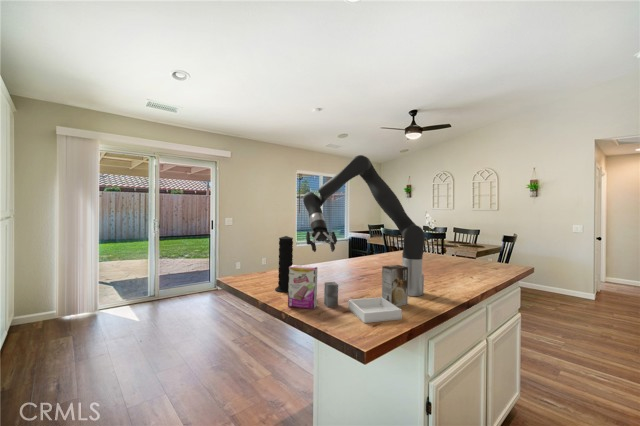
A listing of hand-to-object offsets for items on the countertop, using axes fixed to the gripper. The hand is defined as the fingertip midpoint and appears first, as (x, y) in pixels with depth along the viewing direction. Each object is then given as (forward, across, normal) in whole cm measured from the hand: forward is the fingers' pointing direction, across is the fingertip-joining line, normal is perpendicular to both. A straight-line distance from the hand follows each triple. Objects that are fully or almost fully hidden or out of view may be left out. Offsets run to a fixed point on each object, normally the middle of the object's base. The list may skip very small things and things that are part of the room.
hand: (324, 250), depth 126 cm
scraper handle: (+22, 0, +7) cm, 24 cm away
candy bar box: (+22, -12, +8) cm, 26 cm away
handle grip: (+4, -15, +26) cm, 30 cm away
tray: (+32, +13, -2) cm, 34 cm away
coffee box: (+26, +27, +4) cm, 38 cm away
